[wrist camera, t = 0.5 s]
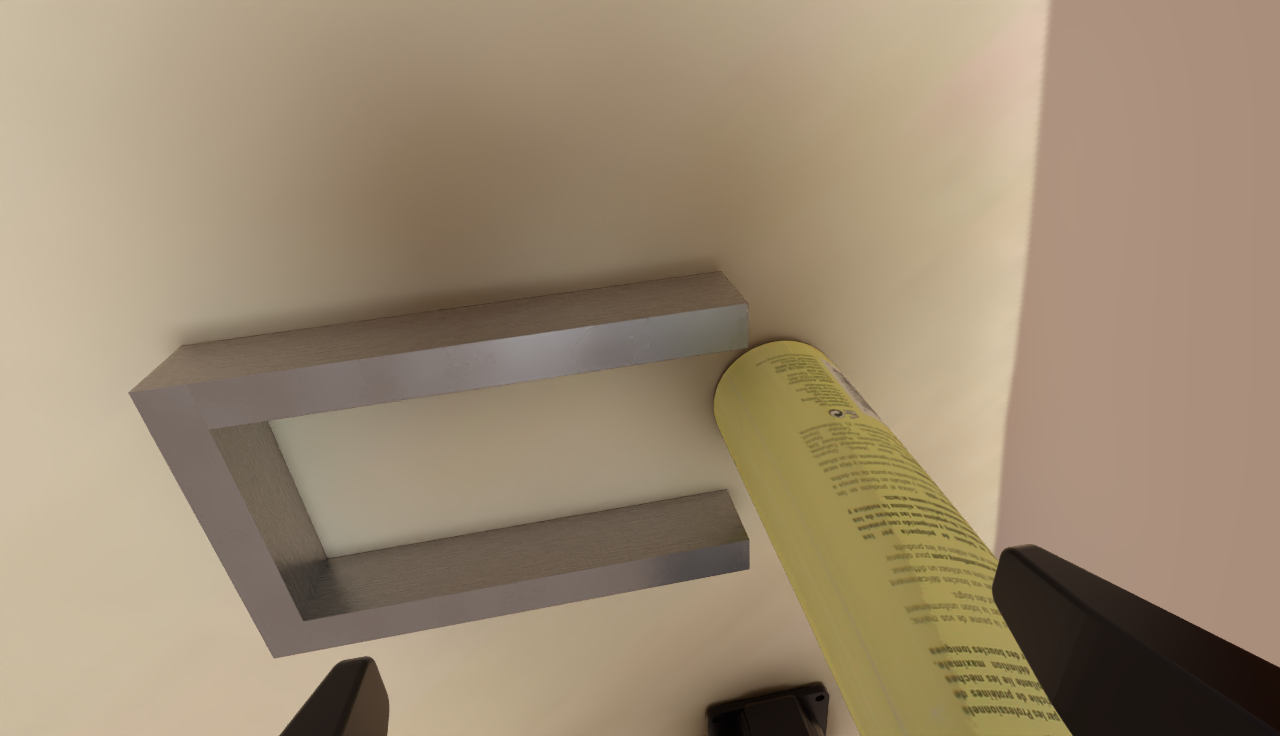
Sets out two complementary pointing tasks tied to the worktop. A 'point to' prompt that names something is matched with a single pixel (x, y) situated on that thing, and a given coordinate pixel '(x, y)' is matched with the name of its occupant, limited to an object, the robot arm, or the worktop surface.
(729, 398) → the tube
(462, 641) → the worktop surface
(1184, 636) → the robot arm
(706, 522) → the u collar
